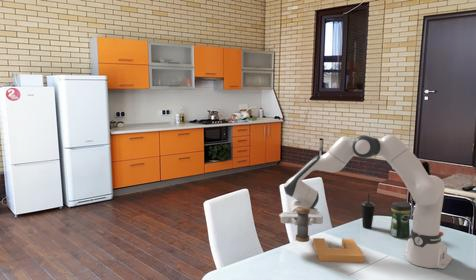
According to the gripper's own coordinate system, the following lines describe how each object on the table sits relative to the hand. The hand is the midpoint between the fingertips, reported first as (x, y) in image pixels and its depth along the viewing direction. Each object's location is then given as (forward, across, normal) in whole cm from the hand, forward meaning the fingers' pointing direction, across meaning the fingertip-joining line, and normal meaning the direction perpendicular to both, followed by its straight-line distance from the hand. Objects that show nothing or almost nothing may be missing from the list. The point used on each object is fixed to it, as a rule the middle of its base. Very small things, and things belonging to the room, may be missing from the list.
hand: (303, 223), depth 180 cm
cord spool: (-1, 0, +8) cm, 8 cm away
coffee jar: (-29, +56, +16) cm, 65 cm away
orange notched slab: (-5, +17, +16) cm, 24 cm away
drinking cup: (-41, +42, +16) cm, 61 cm away
